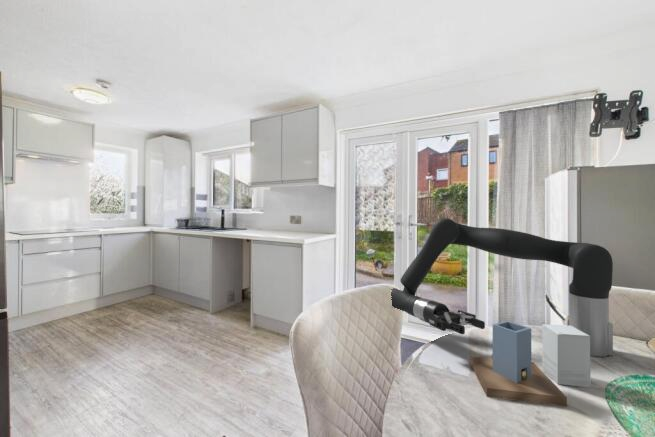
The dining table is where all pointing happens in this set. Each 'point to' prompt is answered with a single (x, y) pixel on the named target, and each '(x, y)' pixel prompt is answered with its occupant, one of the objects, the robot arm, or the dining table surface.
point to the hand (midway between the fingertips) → (474, 328)
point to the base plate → (517, 384)
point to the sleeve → (511, 350)
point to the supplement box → (566, 355)
